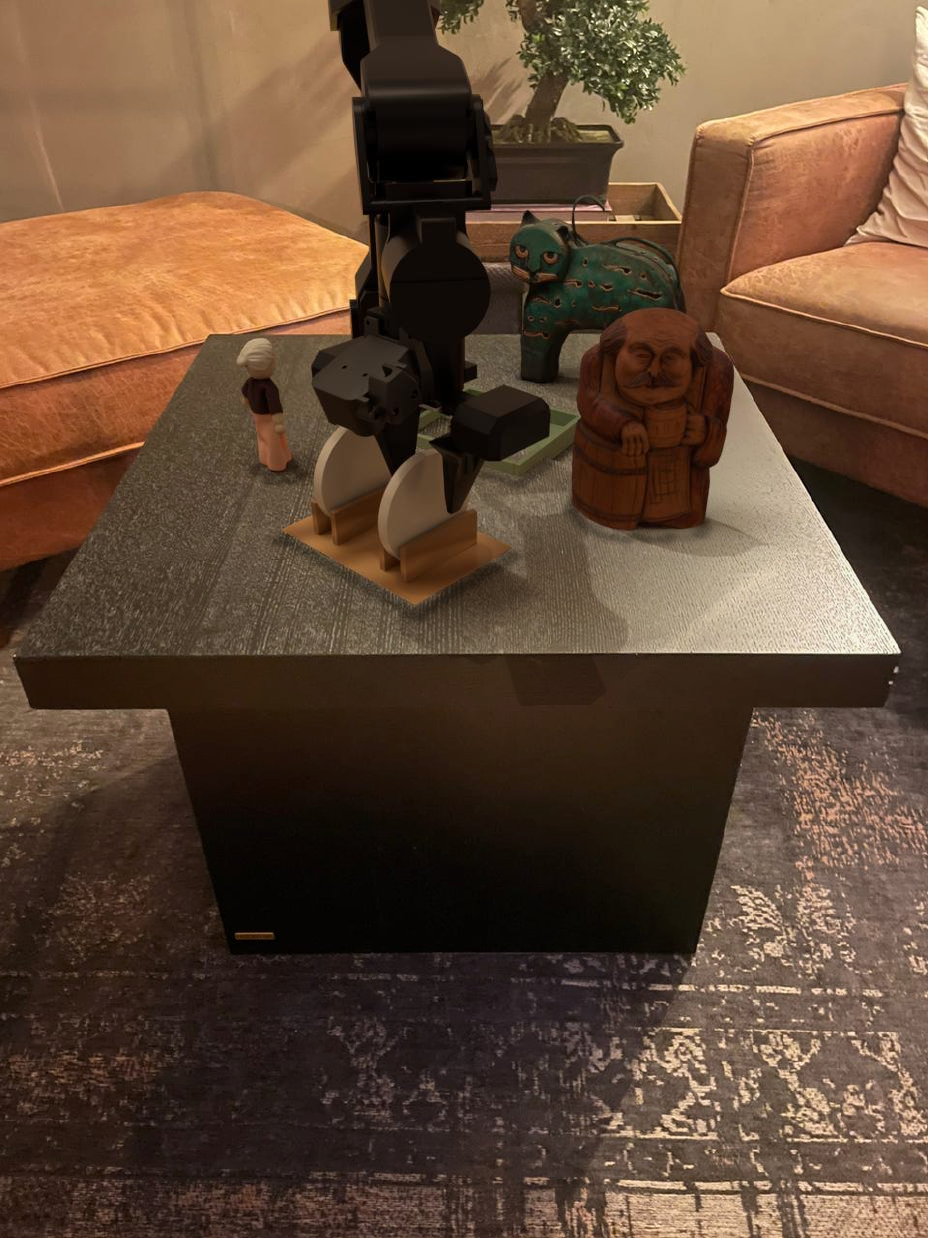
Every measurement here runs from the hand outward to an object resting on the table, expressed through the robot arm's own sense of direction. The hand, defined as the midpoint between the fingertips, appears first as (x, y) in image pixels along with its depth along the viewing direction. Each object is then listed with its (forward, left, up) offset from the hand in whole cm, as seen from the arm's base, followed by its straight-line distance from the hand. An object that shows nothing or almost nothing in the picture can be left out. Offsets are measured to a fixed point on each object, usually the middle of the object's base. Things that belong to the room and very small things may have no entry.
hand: (428, 499), depth 70 cm
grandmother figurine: (-22, +6, -6) cm, 24 cm away
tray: (-8, +22, -6) cm, 24 cm away
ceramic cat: (-6, +40, -6) cm, 41 cm away
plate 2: (0, 0, -5) cm, 5 cm away
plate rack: (-4, +1, -6) cm, 7 cm away
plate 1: (-8, +1, -5) cm, 9 cm away
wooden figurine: (+11, +16, -6) cm, 20 cm away
